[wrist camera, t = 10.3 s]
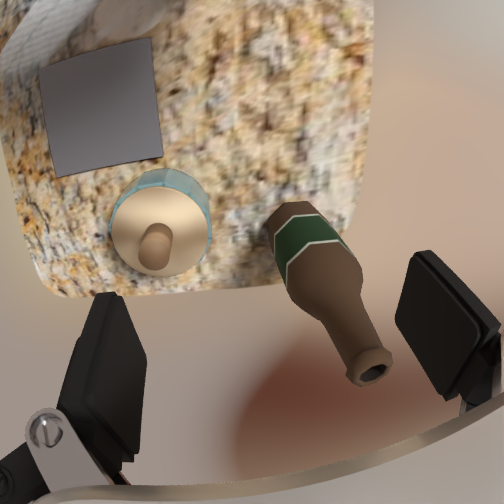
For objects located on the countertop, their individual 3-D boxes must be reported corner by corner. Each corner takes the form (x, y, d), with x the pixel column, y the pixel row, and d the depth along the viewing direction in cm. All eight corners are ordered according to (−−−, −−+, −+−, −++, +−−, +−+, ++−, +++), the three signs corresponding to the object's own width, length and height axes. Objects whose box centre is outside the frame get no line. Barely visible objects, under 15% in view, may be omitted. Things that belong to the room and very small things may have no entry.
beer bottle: (308, 257, 43) (380, 403, 23) (256, 243, 41) (304, 404, 21) (332, 208, 40) (437, 340, 20) (278, 189, 38) (362, 332, 17)
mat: (39, 69, 25) (38, 69, 25) (150, 37, 26) (150, 37, 26) (58, 176, 32) (56, 177, 32) (163, 155, 34) (163, 156, 33)
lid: (102, 195, 29) (87, 215, 25) (201, 178, 30) (200, 196, 26) (127, 278, 35) (119, 305, 30) (214, 266, 36) (216, 294, 31)
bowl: (113, 176, 34) (99, 192, 29) (204, 162, 35) (204, 176, 30) (132, 255, 40) (124, 280, 35) (214, 245, 40) (216, 269, 36)
